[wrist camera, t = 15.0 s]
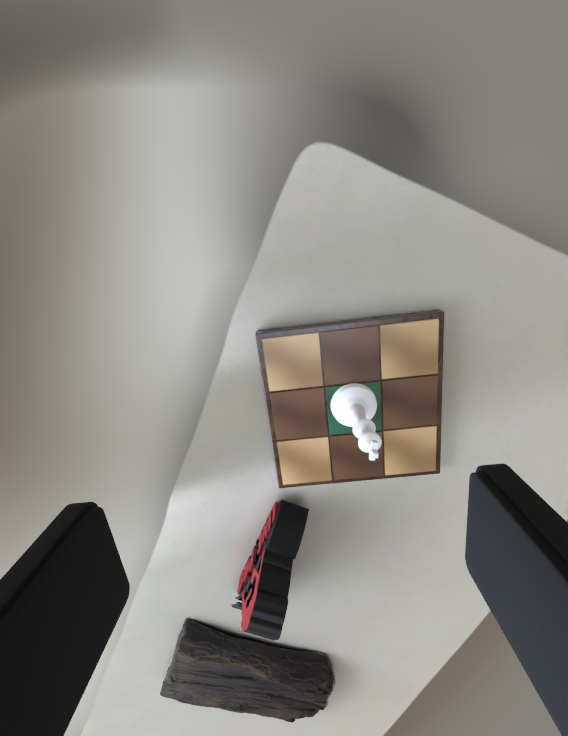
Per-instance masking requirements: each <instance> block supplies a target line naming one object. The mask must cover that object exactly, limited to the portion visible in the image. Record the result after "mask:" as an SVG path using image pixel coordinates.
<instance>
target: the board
mask: <svg viewBox="0 0 568 736" xmlns="http://www.w3.org/2000/svg"><path fill="white" fill-rule="evenodd" d="M443 332H444V312H443V311H440V310H435V311H427V312H418V313H410V314H401V315H393V316H384V317H375V318H367V319H358V320H350V321H341V322H333V323H324V324H316V325H307V326H298V327H290V328H281V329H273V330H264V331H257V332H256V340H257V347H258V354H259V360H260V367H261V373H262V380H263V387H264V393H265V400H266V407H267V413H268V420H269V427H270V433H271V440H272V447H273V453H274V460H275V466H276V473H277V480H278V486H279V488H286V487H297V486H308V485H319V484H330V483H340V482H351V481H362V480H373V479H384V478H394V477H405V476H416V475H427V474H438V473H440V451H441V411H442V372H443ZM351 383H358V384H362V385H365V386H367V387H368V388H370V389H371V390H372V391H373V393H374V395H375V397H376V401H377V409H376V413H375V415H374V416H373V418H372V419H371V421H373V422H374V424H375V426H376V431H375V432H376V433H377V434H378V435H379V436H380V437H381V440H382V444H381V447H380V448H379V449H378V450H377V451H378V453H379V455H378V458H375V461H372V460H369V453H366V452H363V451H362V450H361V449H360V448H359V446H358V438H357V437H356V436H355V435H354V434H353V427H349V426H345V425H343V424H341V423H340V422H338V421H337V420H336V418H335V417H334V415H333V414H332V411H331V400H332V397H333V395H334V394H335V392H336V391H337V390H338V389H339V388H341V387H342V386H344V385H347V384H351Z"/></svg>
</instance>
